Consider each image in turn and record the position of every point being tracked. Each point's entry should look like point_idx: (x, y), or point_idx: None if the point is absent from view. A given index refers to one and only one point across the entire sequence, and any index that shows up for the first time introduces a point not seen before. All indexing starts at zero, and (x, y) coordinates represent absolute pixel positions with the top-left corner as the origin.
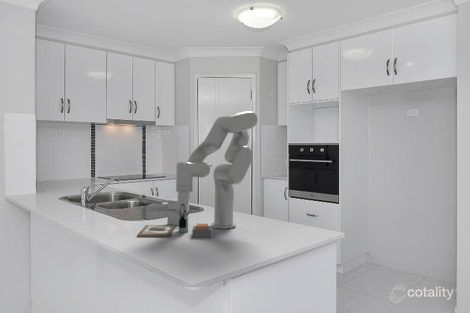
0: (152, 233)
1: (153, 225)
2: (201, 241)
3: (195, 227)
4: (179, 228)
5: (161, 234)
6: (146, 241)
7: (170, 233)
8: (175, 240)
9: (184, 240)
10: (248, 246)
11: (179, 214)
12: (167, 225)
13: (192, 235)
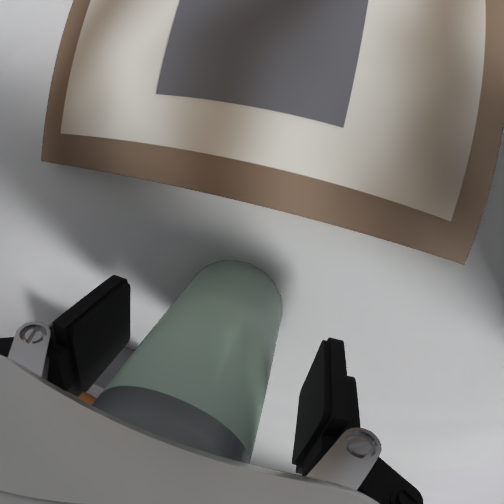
0: (91, 9)
1: (482, 21)
2: (15, 332)
3: (88, 392)
4: (197, 282)
5: (63, 89)
6: (10, 28)
7: (88, 168)
8: (5, 201)
9: (10, 255)
10: None
11: (112, 395)
12: (487, 178)
13: (50, 325)
